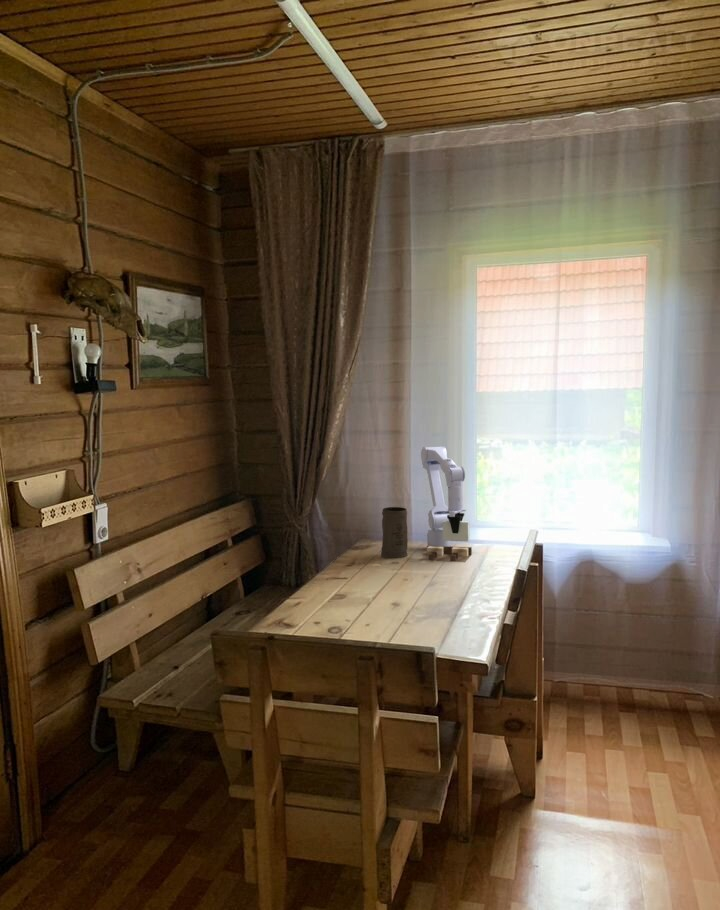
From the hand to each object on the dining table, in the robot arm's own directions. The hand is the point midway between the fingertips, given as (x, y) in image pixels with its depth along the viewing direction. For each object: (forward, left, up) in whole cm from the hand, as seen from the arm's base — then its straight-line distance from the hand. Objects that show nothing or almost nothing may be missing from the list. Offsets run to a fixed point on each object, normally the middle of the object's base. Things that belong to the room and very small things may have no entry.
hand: (456, 532), depth 272 cm
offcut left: (-9, +2, -10) cm, 13 cm away
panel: (0, 0, -3) cm, 3 cm away
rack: (-4, -2, -10) cm, 11 cm away
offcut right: (+1, +2, -10) cm, 10 cm away
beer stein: (-26, -2, -11) cm, 28 cm away
